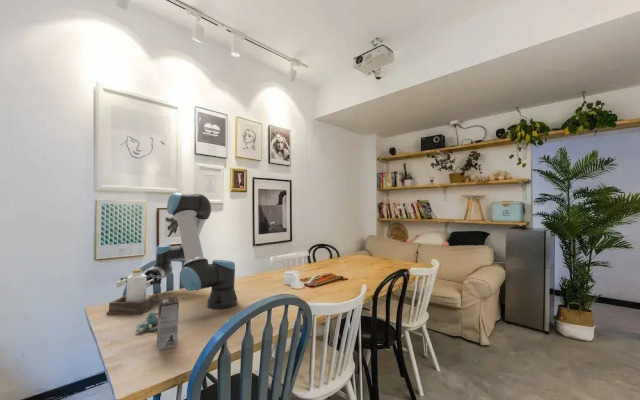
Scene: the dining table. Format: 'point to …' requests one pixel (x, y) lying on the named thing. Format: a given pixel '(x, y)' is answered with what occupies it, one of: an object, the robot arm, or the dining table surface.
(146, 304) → the walnut stand
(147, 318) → the stuffed animal
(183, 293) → the dining table surface
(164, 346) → the coffee box
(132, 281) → the potion bottle
